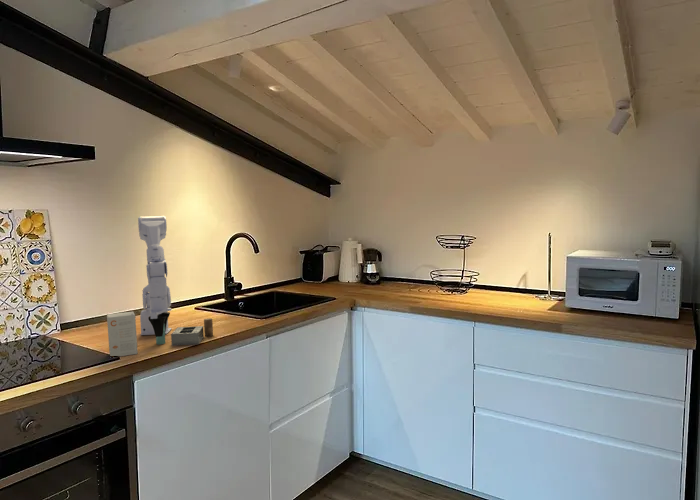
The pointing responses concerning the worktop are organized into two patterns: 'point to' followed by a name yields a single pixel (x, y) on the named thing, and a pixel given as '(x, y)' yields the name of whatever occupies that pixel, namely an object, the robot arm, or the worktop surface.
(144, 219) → the robot arm
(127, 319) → the small box
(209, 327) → the walnut dowel
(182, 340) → the bore block
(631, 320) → the worktop surface
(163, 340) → the teal dowel
